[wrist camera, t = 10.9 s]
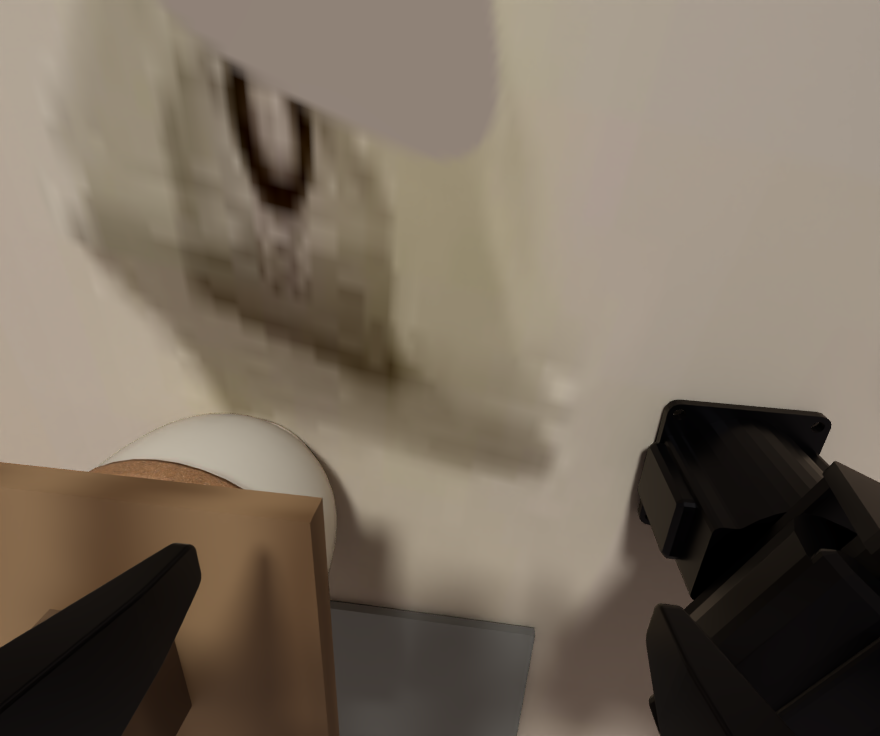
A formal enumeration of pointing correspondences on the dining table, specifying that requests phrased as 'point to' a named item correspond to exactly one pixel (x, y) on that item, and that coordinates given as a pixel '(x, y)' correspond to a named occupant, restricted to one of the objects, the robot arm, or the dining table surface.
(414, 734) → the mat
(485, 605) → the dining table surface
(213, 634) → the lid
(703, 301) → the dining table surface
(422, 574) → the dining table surface
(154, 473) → the lidded jar
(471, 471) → the dining table surface
